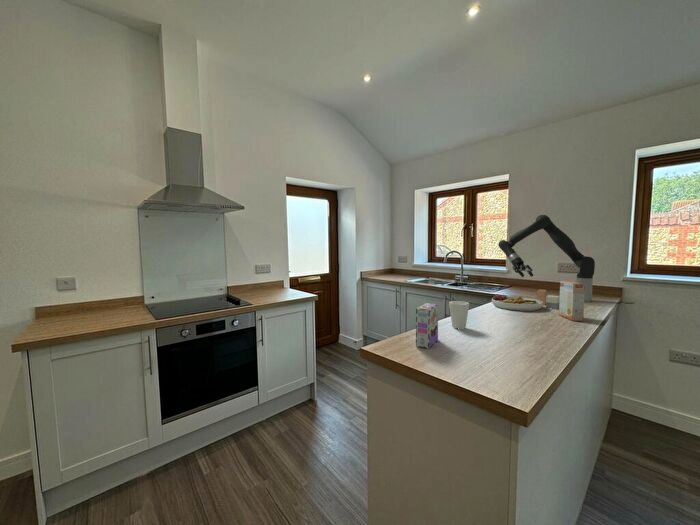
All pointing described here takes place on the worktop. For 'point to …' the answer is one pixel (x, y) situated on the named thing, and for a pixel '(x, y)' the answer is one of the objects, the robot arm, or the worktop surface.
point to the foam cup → (459, 313)
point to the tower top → (552, 299)
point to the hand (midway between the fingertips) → (527, 276)
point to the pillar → (542, 295)
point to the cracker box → (571, 300)
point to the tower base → (552, 305)
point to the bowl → (516, 303)
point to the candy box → (426, 325)
